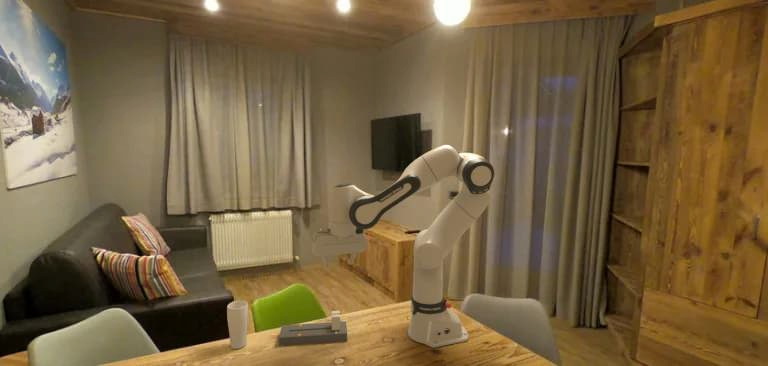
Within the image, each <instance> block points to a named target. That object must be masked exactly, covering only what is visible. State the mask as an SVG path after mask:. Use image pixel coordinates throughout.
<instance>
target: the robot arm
mask: <svg viewBox="0 0 768 366" xmlns="http://www.w3.org/2000/svg"><path fill="white" fill-rule="evenodd" d="M451 176H454V177H456V178H457V179H458V180H459V181H460V182H462V186H461V189H460V191H458V193H457V194H456V195H455V196H454V197H453V198H452V200H451V201H450V202H449V203H448V204H447V205H446V206H445V207H444V209H442V211H440V213H439V214H438V215H437V216H436V218H435V219H434V221H433V222H432V223H431V225H429V227H428V228H427V229H426V228H425V229H423V230H420V231H419V232H418V234H417V235H416V236H415V239H414V243H413V244H414V245H413V250H412V251H413V253H412V254H413V271H412V272H413V274H412V276H413V277H412V296H411V301H410V311H411V316H410V321H409V322H410V323H409V327H408V330H407V336H408V337H409V338H410V339H411V340H413V341H414V342H417V343H420V344H424V345H426V346H428V347H430V348H439V347H443V346H448V345H452V344H453V345H454V344H457V343H458V344H459V343H464V342H467V341H468V340H469V334H468V331H467V330H466V328H465V327H464V326H463V325H462V321H461V319H460V317H459V316H458V314H457V313H455V312H454V311H453V310H452V309H451V308H452V304H451V302H450V301H449V300H447V299H446V298H445V297H443V289H444V288H443V287H444V284H443V283H444V259H445V258H446V257H447V256H448V255H449V253H450V252H451V251H452V249H453V248H454V246H456V244H457V242H458V241H459V240H460V238H461V237H462V236H463V235H464V234H465V232H467V230H468V229H469V228H470V227H471V226H472V225H473V224H474V223H475V222H476V221H477V219H478V218H479V217H481V215H482V214H483V212H484V211H485V210H486V209H487V207H488V206H489V204H490V202H491V201H492V192H491V190H490V189H491V185H492V184H493V182H494V178H495V170H494V166H493V165H492V164H491V162H490V161H489V160H487V159H485V158H484V156H482V155H480V154H477V153H474V152H472V151H457V149H456V148H454V147H453V146H451V145H449V144H443V145H440V146H438V147H435V148H434V149H431V150H430V151H429V150H428V151H427V152H425V153H424V154H422V155H420V156H419V157H418V158H415V159H414V160H413V161H412V162H411V163H409V165H408V166H407V167H406V168H405V169H404V171H403V172H402V174H401V176H400V177H399V178H397V180H396V181H395V182H394V183H393V184H391V185H390V186H388V187H387V188H384V190H382V191H380V192H379V193H378V194H376V195H373V194H371V193H368V192H365V191H363V190H362V189H361V188H358V187H357V186H356V185H355V184H354V183H347V182H346V183H340V184H337V185H335V186H333V188H332V189H331V194H330V200H329V210H330V214H329V217H328V218H329V219H328V228H325V229H317V230H316V231H314V232H313V233H312V242H311V254H312V255H313V256H314V257H318V258H319V257H320V258H321V260H322V262H323V267H324V268H325V269H326V268H329V267H330V262H329V261H327V260H326V259H327V257H328V256H329V257H330V256H338V255H346V254H347V255H349V254H351V255H350V258H347V264H348V265H349V266H350V265H351V266H352V265H354V260H355V258H356V257H357V255H358V254H360V253H364V252H366V250H367V243H368V242H367V236H366V230H369V229H373V228H374V227H375V226H376V225H377V224H378V222H379V221H380V219H381V218H382V216H383V215H384V214H385V213H386V212H388V211H389V210H391V209H392V208H394V207H396V206H398V204H400V203H401V202H403V201H405V200H406V199H407V198H410V197H411V196H414V195H415V194H418V193H420V192H423V191H425V190H427V189H430V188H431V187H433V186H435V185H436V184H438V183H440V182H442V181H443V180H444V179H446V178H448V177H451Z"/></svg>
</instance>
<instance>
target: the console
mask: <svg viewBox="0 0 768 366" xmlns="http://www.w3.org/2000/svg"><path fill="white" fill-rule="evenodd" d="M340 342H342V343H343V342H348V328H347V321H340V330H332V321H331V322H315V323H299V324H282V325H281V328H280V331H279V335H278V346H279V347H281V346H296V345H309V344H310V345H313V344H323V343H324V344H325V343H340Z"/></svg>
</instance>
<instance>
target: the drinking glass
mask: <svg viewBox="0 0 768 366" xmlns="http://www.w3.org/2000/svg"><path fill="white" fill-rule="evenodd" d="M226 313H227V314H226V316H227V317H226V318H227V319H226V320H227V327H228V333H229V345H230V348H231V349H234V350H240V349H242V348H244V347H246V345H247V341H248V339H247V337H248V321H249V303H248V301H245V300H235V301H232V302H229V304H227V306H226Z"/></svg>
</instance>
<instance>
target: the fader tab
mask: <svg viewBox="0 0 768 366" xmlns="http://www.w3.org/2000/svg"><path fill="white" fill-rule="evenodd" d="M340 311H341V310H332V311H331V322H332V330H340V322H341V314H340V313H341V312H340Z"/></svg>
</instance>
